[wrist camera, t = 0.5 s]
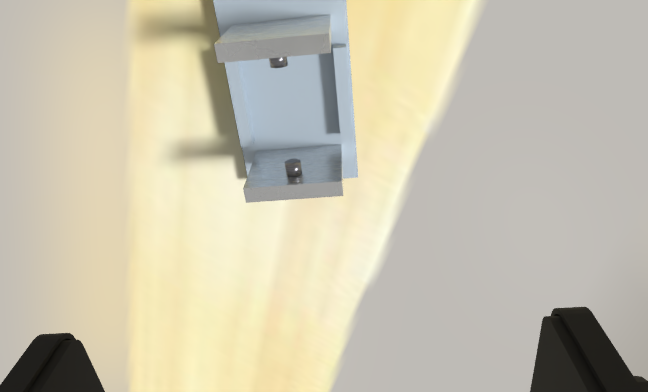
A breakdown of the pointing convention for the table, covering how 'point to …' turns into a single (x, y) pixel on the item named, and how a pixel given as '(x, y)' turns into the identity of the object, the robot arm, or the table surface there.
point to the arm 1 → (275, 40)
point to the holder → (292, 85)
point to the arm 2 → (295, 173)
